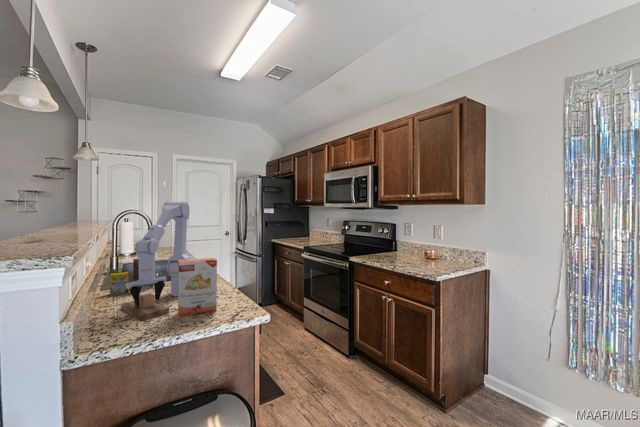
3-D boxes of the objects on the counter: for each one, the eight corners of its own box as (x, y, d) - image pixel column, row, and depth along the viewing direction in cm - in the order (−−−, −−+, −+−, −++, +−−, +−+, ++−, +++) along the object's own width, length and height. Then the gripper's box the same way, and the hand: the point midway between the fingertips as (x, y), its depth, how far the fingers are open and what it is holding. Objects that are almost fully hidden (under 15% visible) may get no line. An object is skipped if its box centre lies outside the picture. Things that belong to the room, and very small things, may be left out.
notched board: (147, 302, 130) (147, 297, 130) (169, 312, 117) (169, 307, 117) (121, 308, 122) (121, 303, 122) (141, 320, 109) (141, 315, 109)
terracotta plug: (149, 307, 123) (149, 293, 123) (154, 309, 121) (154, 294, 121) (139, 310, 120) (139, 295, 120) (143, 312, 118) (143, 297, 118)
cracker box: (178, 316, 113) (178, 262, 113) (178, 311, 119) (177, 259, 118) (217, 311, 120) (217, 259, 119) (214, 306, 125) (214, 256, 124)
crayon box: (110, 295, 139) (109, 270, 139) (110, 293, 141) (109, 269, 141) (128, 292, 143) (128, 268, 143) (128, 291, 146) (128, 267, 145)
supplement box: (141, 292, 144) (141, 259, 144) (132, 291, 145) (132, 259, 145) (154, 287, 153) (154, 256, 152) (146, 286, 154) (146, 256, 153)
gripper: (160, 264, 128) (160, 296, 128) (122, 270, 116) (123, 305, 117) (168, 267, 124) (169, 299, 124) (130, 273, 112) (130, 309, 113)
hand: (147, 302), depth 120 cm, fingers open, 7 cm apart
